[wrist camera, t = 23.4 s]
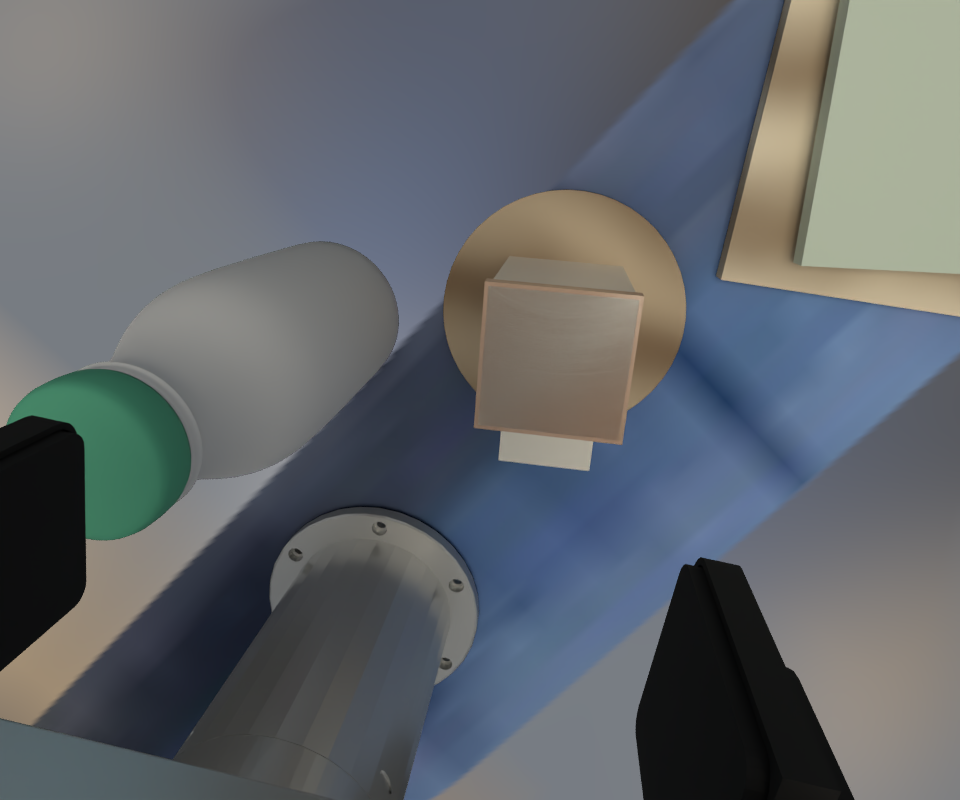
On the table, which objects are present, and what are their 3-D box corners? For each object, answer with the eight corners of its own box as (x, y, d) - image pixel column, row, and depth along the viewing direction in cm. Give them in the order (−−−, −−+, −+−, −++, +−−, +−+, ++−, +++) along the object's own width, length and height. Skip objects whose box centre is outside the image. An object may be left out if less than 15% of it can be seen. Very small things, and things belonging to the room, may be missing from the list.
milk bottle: (342, 208, 35) (73, 259, 16) (431, 334, 37) (280, 514, 18) (232, 293, 37) (-117, 424, 18) (320, 408, 39) (81, 639, 20)
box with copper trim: (626, 263, 34) (644, 296, 25) (604, 424, 36) (613, 502, 28) (506, 252, 34) (484, 281, 26) (493, 411, 37) (469, 485, 28)
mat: (654, 441, 37) (656, 446, 36) (432, 403, 38) (430, 407, 37) (710, 209, 33) (712, 210, 32) (460, 172, 34) (458, 172, 33)
